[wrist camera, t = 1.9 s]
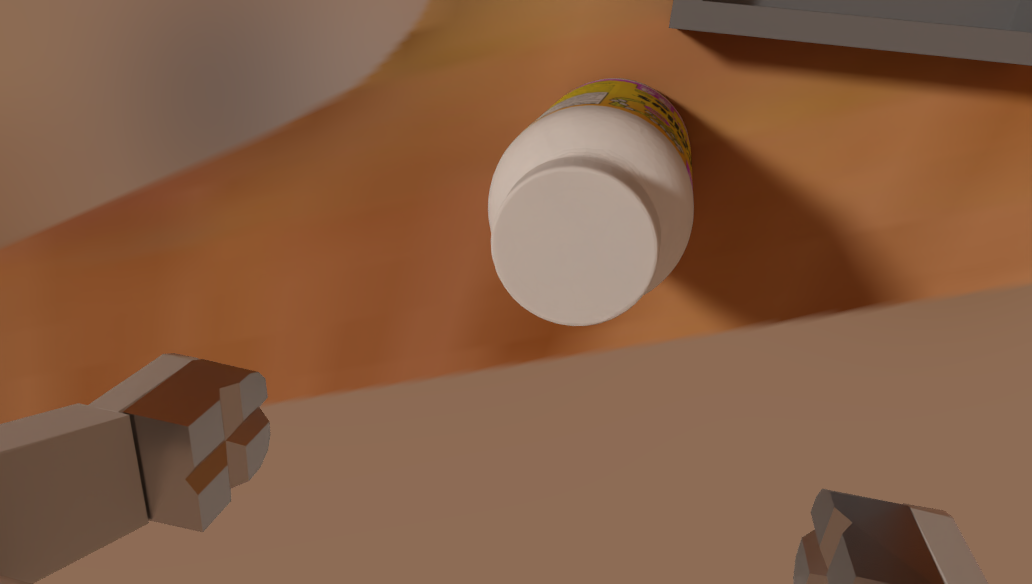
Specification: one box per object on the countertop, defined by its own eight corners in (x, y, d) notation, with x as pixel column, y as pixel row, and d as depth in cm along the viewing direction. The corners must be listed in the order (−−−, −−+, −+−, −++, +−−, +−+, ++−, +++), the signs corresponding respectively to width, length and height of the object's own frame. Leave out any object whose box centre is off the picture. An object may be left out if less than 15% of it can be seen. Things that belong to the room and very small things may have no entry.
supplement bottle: (709, 198, 30) (728, 329, 18) (569, 242, 32) (509, 382, 21) (663, 49, 28) (652, 90, 16) (517, 106, 30) (418, 178, 19)
